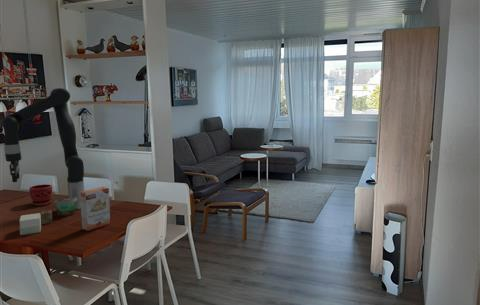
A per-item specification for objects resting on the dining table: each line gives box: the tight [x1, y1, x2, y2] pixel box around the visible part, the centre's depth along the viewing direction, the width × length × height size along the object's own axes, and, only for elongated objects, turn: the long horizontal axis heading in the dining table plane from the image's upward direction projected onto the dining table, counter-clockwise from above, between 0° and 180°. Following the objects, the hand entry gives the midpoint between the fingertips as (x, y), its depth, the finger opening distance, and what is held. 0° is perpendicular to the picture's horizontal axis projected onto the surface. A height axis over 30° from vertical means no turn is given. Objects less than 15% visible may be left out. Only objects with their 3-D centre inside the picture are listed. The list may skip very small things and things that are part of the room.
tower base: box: [19, 223, 42, 236], centre depth 191 cm, size 9×9×4 cm
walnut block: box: [40, 209, 53, 225], centre depth 203 cm, size 5×5×6 cm
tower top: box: [19, 212, 42, 229], centre depth 190 cm, size 9×9×4 cm
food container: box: [53, 197, 77, 218], centre depth 214 cm, size 12×6×10 cm, turn 118°
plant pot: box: [28, 183, 53, 207], centre depth 236 cm, size 13×13×12 cm
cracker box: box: [80, 186, 111, 232], centre depth 196 cm, size 14×6×21 cm, turn 145°
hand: (16, 180), depth 204 cm, fingers open, 8 cm apart
